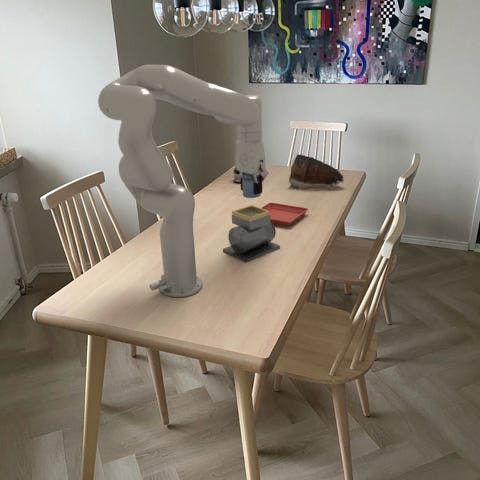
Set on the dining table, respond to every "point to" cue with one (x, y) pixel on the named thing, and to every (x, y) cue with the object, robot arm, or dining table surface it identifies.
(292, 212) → the plant saucer
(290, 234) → the dining table surface
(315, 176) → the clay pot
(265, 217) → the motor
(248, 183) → the blue rounded cylinder
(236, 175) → the ink bottle
